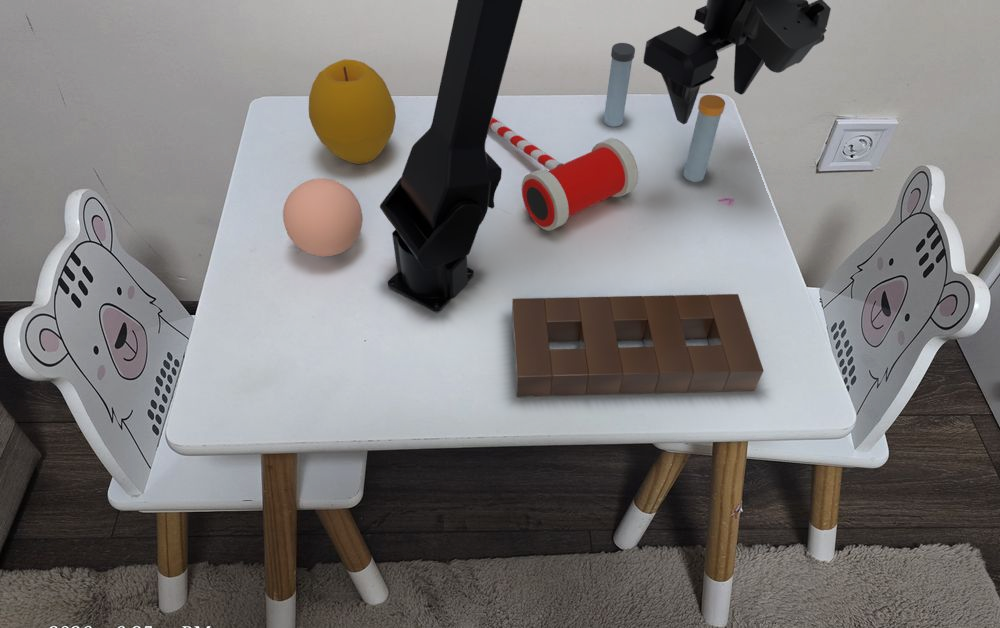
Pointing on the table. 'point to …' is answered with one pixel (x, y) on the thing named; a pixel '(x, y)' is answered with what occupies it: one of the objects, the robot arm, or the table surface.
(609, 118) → the tube grey
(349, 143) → the apple
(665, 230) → the table surface
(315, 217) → the toy ball
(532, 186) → the toy hammer
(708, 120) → the orange-capped peg
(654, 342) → the rack
